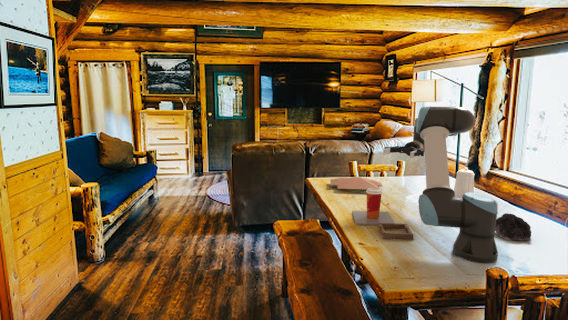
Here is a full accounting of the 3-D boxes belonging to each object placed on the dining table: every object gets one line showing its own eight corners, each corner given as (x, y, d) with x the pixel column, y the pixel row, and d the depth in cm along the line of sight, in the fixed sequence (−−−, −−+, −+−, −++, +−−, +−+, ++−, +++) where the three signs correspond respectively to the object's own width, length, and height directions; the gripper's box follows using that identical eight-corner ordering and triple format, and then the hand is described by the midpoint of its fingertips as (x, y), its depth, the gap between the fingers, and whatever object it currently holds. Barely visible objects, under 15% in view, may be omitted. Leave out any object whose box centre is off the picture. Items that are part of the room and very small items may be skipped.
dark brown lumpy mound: (533, 246, 144) (538, 223, 143) (495, 238, 150) (500, 215, 148) (526, 237, 156) (531, 215, 155) (492, 229, 162) (496, 208, 160)
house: (384, 195, 216) (385, 182, 215) (330, 193, 220) (330, 180, 219) (379, 185, 238) (380, 173, 237) (330, 184, 243) (330, 172, 241)
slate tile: (395, 226, 164) (395, 224, 164) (356, 225, 166) (356, 223, 165) (387, 213, 182) (387, 211, 181) (352, 212, 183) (352, 210, 183)
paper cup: (369, 213, 179) (370, 186, 176) (383, 216, 174) (385, 189, 172) (362, 217, 173) (363, 189, 170) (376, 221, 168) (378, 192, 166)
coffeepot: (459, 205, 196) (462, 171, 192) (448, 192, 220) (450, 163, 216) (480, 206, 193) (484, 172, 190) (466, 193, 217) (469, 163, 214)
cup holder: (413, 240, 149) (413, 234, 148) (383, 238, 150) (383, 233, 149) (406, 229, 161) (406, 223, 160) (378, 228, 162) (378, 222, 162)
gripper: (437, 158, 181) (422, 164, 165) (390, 152, 196) (373, 158, 181) (438, 143, 179) (423, 148, 163) (391, 139, 195) (373, 143, 179)
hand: (397, 153), depth 172 cm, fingers open, 13 cm apart
